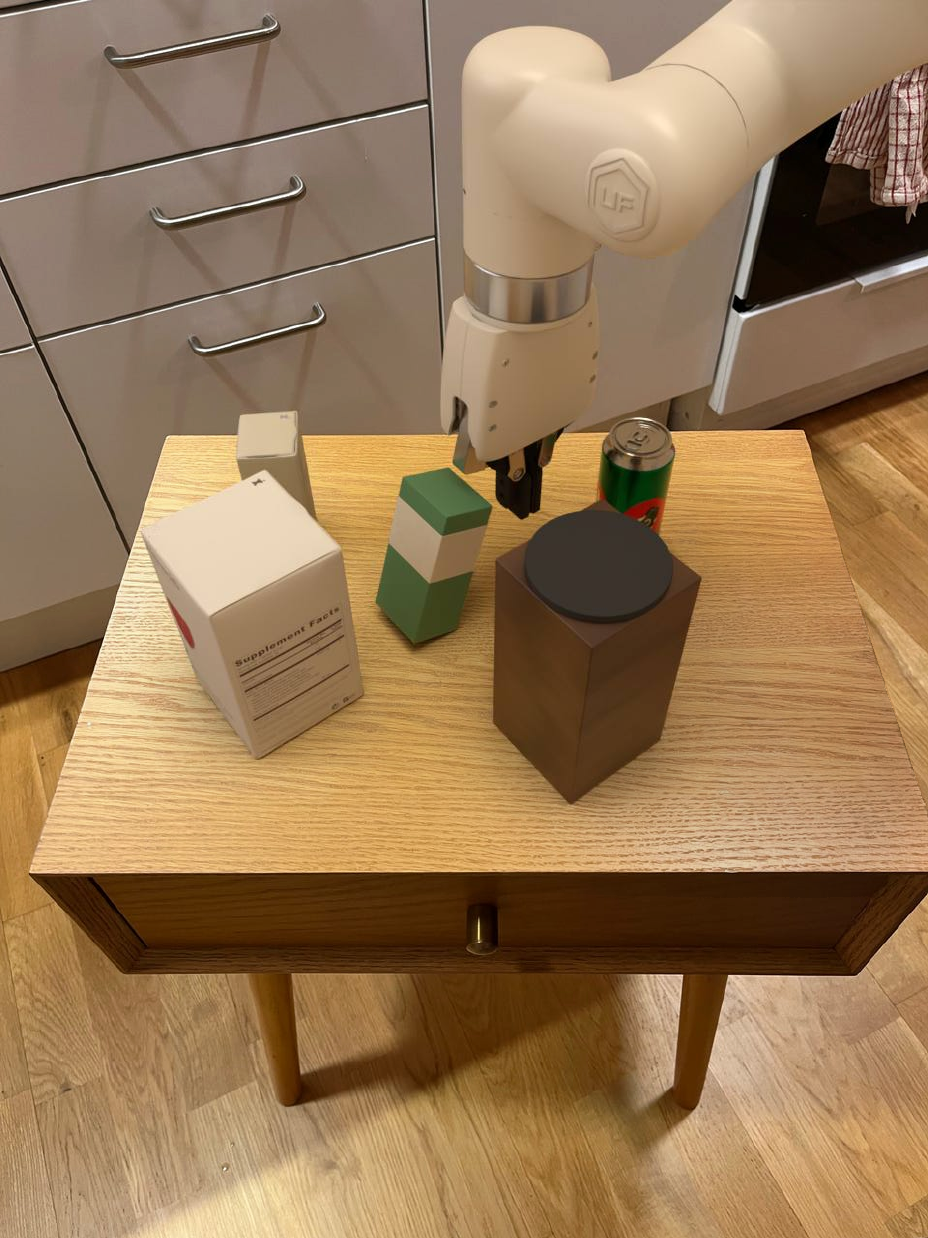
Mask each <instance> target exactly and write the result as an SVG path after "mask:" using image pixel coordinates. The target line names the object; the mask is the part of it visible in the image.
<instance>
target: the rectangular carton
mask: <svg viewBox="0 0 928 1238" xmlns="http://www.w3.org/2000/svg"><path fill="white" fill-rule="evenodd" d="M139 531H140V534H141V537H142V540H143V543H144V546H145V549H146V550H147V553H148V556H149V559H150V561H151V564H152V566H153V569H154V572H155V573H156V577H157V579H158V582H159V584H160V587H161V590H162V592H163V595H164V597H165V600H166V602H167V606H168V608H169V611H170V613H171V616H172V618H173V621H174V623H175V626H176V629H177V631H178V633H179V636H180V639H181V642H182V644H183V647H184V649H185V652H186V655H187V657H188V660H189V663H190V665H191V667H192V671H193V673H194V676H195V678H196V680H197V681H198V683H199V684H200V685H201V687H202V688H203V690H204V691H205V692H206V694H207V695H208V697H209V698H210V699H211V701H212V703H214V705H215V706H216V707H217V709H218V710H219V712H220V713H221V715H222V716H223V717H224V718H225V720H226V721H227V722H228V724H229V725H230V727H231V728H232V730H234V732H235V733H236V735H237V736H238V738H239V739H240V740H241V742H242V743H243V745H244V746H245V747H246V748H247V750H248V751H249V752H250V754H251V755H252V756H253V757H254V758H255V759H256V760H257V759H258V760H259V759H261V758H263V757H264V756H266V755H267V754H269V753H271V752H272V751H274V750H276V749H277V748H279V747H281V746H282V745H284V744H285V743H287V742H289V741H291V739H294V738H295V737H297V736H299V735H300V734H302V733H304V732H305V731H307V730H309V729H310V728H312V727H313V726H316V725H317V724H319V723H320V722H322V721H323V720H325V719H326V718H328V717H330V716H331V715H333V714H334V713H336V712H338V711H340V710H341V709H343V708H345V707H346V706H348V705H349V704H351V703H352V702H354V701H355V700H357V699H359V698H360V697H362V696H364V692H365V691H364V687H363V685H364V684H363V679H362V672H361V666H360V661H359V654H358V647H357V639H356V633H355V628H354V621H353V620H354V619H353V614H352V607H351V601H350V600H351V599H350V594H349V588H348V581H347V575H346V567H345V561H344V555H343V550H342V547H341V545H340V544H339V543H338V542H337V541H336V540H335V539H334V538H333V537H332V536H331V535H330V534H329V533H328V532H327V531H326V530H325V529H324V528H323V526H321V525H320V524H319V523H318V521H317V522H316V521H315V520H314V519H313V518H312V517H311V516H310V515H309V513H308V512H307V510H306V509H305V508H304V507H303V506H302V505H301V504H300V503H299V502H298V501H296V500H295V499H294V498H293V497H292V496H291V495H290V494H289V493H288V492H287V491H286V490H285V489H284V488H283V487H282V486H281V485H280V484H279V482H278V481H277V480H276V479H275V478H274V477H273V476H272V475H271V474H270V473H269V472H268V471H266V470H263V471H261V472H259V473H257V474H255V475H253V476H251V477H249V478H247V479H245V480H243V481H242V480H241V481H239V482H236V483H235V484H233V485H231V486H229V487H226V488H224V489H222V490H220V491H218V492H216V493H214V494H212V495H210V496H207V497H206V498H203V499H201V500H199V501H197V502H194V503H193V504H190V505H188V506H186V507H183V508H181V509H179V510H177V511H173V512H172V513H169V514H167V515H166V516H163V517H162V518H159V519H157V520H156V521H154V522H151V523H150V524H148V525H146V526H144V527H142V528H140V530H139Z"/></svg>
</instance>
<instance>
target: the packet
mask: <svg viewBox="0 0 928 1238" xmlns="http://www.w3.org/2000/svg"><path fill="white" fill-rule="evenodd" d="M492 511H493V505H492V503H490V501H488V500H487V499H486V498H485V497H484V496H482V495H481V494H480V493H479V492H478V491H477V490H475V489H474V488H473V487H472V486H471V485H470V484H469V483H467V482H466V481H465V480H464V479H463V478H462V477H461V476H459V475H458V474H457V473H456V472H455V471H454V470H452V468H450V467H443V468H439V469H438V468H437V469H434V470H429V471H424V472H423V471H422V472H418V473H414V474H409V475H405V476H402V478H401V482H400V487H399V491H398V496H397V500H396V505H395V508H394V514H393V518H392V522H391V527H390V531H389V536H388V541H387V548H386V551H385V557H384V563H383V565H382V569H381V575H380V580H379V584H378V589H377V594H376V597H375V604H376V605H377V606H378V607H379V608H380V610H381V611H382V612H383V613H384V614H385V615H386V616H387V617H388V618H389V619H390V620H391V621H392V622H393V623H394V625H396V626H397V628H398V629H399V630H400V631H401V633H403V634H404V635H405V637H407V638H408V639H409V641H411V643H412V644H414V645H415V644H419V643H421V642H424V641H427V640H431V639H433V638H436V637H439V636H443V635H445V634H448V633H450V632H454V631H457V630H458V626H459V624H460V621H461V617H462V615H463V614H462V613H463V610H464V607H465V603H466V599H467V596H468V593H469V589H470V586H471V582H472V579H473V575H474V572H475V570H476V567H477V563H478V560H479V557H480V553H481V550H482V548H483V547H482V546H483V542H484V540H485V537H486V534H487V530H488V526H489V525H488V524H489V521H490V517H491V514H492Z"/></svg>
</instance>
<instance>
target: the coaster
mask: <svg viewBox="0 0 928 1238" xmlns="http://www.w3.org/2000/svg"><path fill="white" fill-rule="evenodd" d="M581 510H582V511H581ZM581 510H577V511H571V512H567V513H565V514H562V515H558V516H555V517H554V518H552V519H550V520H549V521H547V522H545V523H544V524H543V525H542V526H540V528H538V529H537V530H536V531H535V532H534V533H533V535H532V536H531V537H530V539H529V540H530V541H529V543H528V545H527V548H526V552H525V565H524V568H525V575H526V578H527V581H528V583H529V585H530V587H531V589H532V590H533V592H534V593H535V594H536V596H537V597H538V598H539V599H540V600H541V601H542V602H543V603H545V604H546V605H547V606H548V607H550V608H551V609H553V610H555V611H556V612H558V613H560V614H562V615H564V616H567V617H570V618H573V619H576V620H580V621H584V622H591V623H616V622H622V621H627V620H630V619H634V618H636V617H639V616H641V615H643V614H645V613H646V612H648V611H650V610H651V609H652V608H654V607H655V606H656V605H657V604H658V603H659V602H660V601H661V600H662V599H663V598H664V596H665V595H666V593H667V591H668V589H669V587H670V583H671V579H672V575H673V561H672V557H671V554H670V552H671V550H669V547H668V546H667V544H666V542H665V540H664V539H663V538H662V537H661V536H660V534H659V535H658V534H657V533H656V532H655V531H654V530H653V529H651V528H650V527H648V526H647V525H646V524H644V523H642V522H640V521H639V520H637V519H634V518H632V517H630V516H627V515H624V514H620V513H616V512H611V511H604V510H583V509H581Z"/></svg>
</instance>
